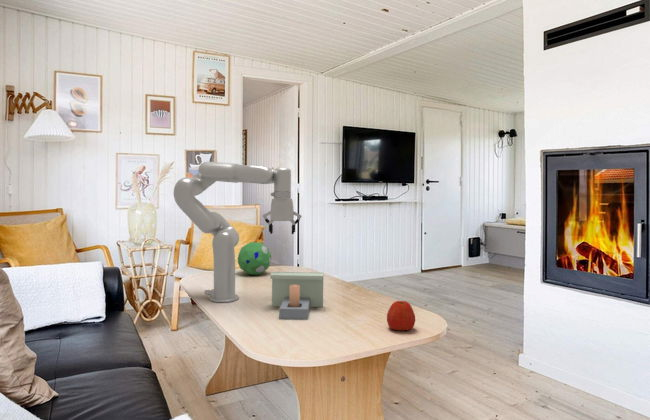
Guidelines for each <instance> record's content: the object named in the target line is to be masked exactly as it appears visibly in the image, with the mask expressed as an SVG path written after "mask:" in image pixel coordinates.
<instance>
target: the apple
mask: <svg viewBox="0 0 650 420" xmlns="http://www.w3.org/2000/svg"><path fill="white" fill-rule="evenodd" d="M386 322H387V325H388V327H389V329H391V330H394V331H399V332H400V331H403V332H404V331H405V330H406V331H410V330H412V329H414V326H415V324H416V315H415V311H414V309H413V307H412V305H411V304H410V303H409V302H408V301H406V300H397V301H394V302H393V303H392V304H391V305H390V307H389V309H388V311H387V314H386Z"/></svg>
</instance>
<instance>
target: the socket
mask: <svg viewBox="0 0 650 420" xmlns="http://www.w3.org/2000/svg"><path fill="white" fill-rule="evenodd" d="M278 310H279V311H278V312H279V313H278V314H279V317H278V319H279V320H308V319H309V316H310V315H309V314H310V310H311V307H310V298H300V306H299V307H290V298H286V297H285V298H284V300H283V302H282V304H281V306H279V309H278Z"/></svg>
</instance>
